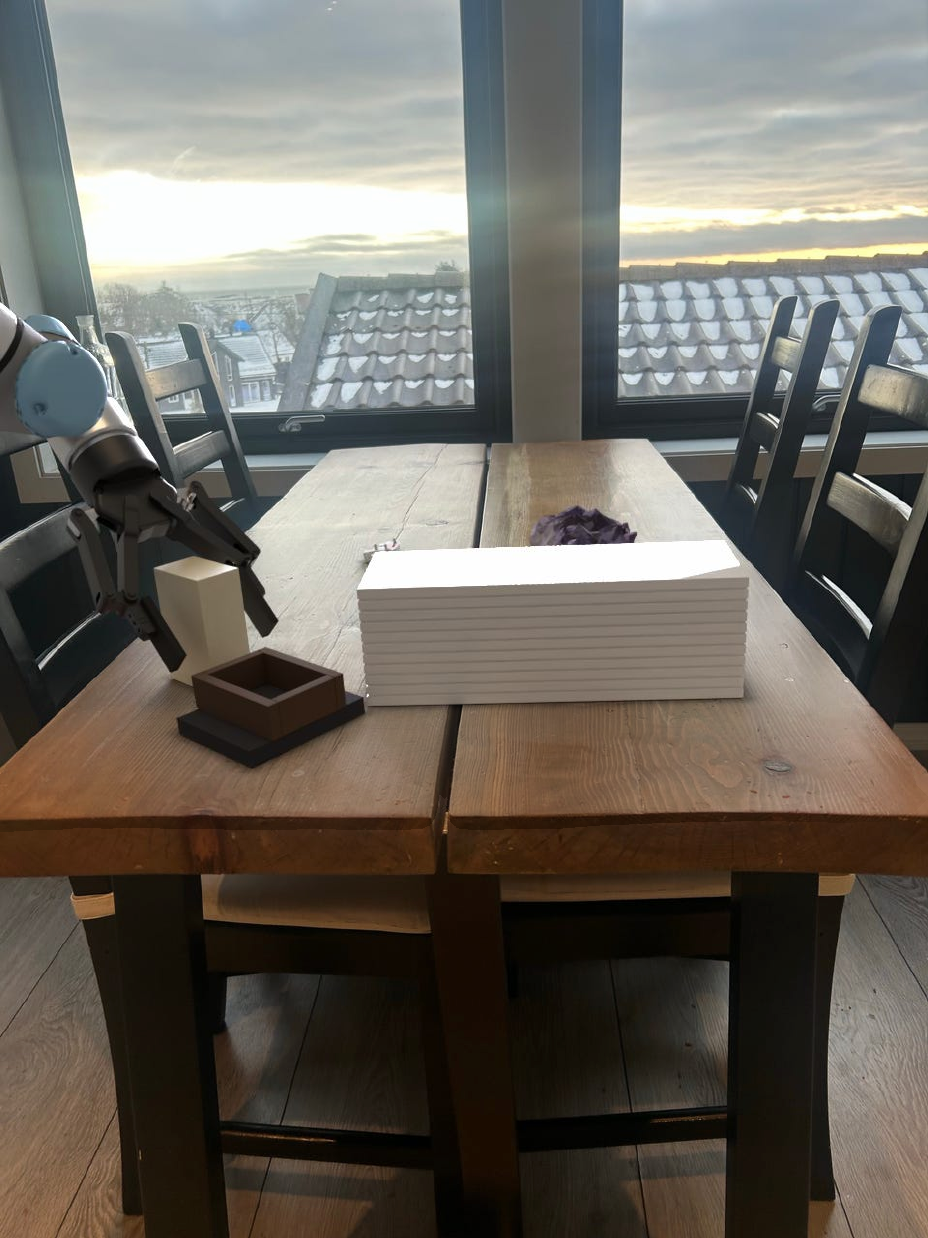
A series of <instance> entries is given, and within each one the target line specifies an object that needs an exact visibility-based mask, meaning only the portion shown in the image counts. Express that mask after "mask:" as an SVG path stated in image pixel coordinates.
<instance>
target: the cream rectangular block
mask: <svg viewBox="0 0 928 1238" xmlns="http://www.w3.org/2000/svg"><path fill="white" fill-rule="evenodd" d="M152 570H153V574H154V581H155V587H156V592H157V598H158V604H159V612H160V613H161V615H162V616H163V618H164V619H165V621H166V623H167V624H168V626H169V627H170V629H171V631H172V632H173V634H174V635H175V637H176V639H177V640H178V642H179V643H180V645H181V647H182V648H183V650H184V651H185V653H186V654H187V656H186V657H185V659H184V661H183V662H182V664H181V666H180V667H179V669H178V670H177V671H174V672H172V673H170V674H171V679H173V680H176V681H178V682H181V683H183V684H185V685H188V686H189V687H192V688H193V684H192V678H191V676H192V675H195V674H197V673H200V672H203V671H205V670H208V669H210V668H213V667H215V666H218V665H221V664H223V663H226V662H228V661H231V660H233V659H236V658H239V657H241V656H244V655H246V654H249V653H251V651H250V644H249V643H250V641H249V637H248V635H249V634H248V628H247V621H246V615H245V614H246V612H245V611H244V606H243V599H242V591H241V584H240V577H239V569H238V568H236V567H232V566H229V565H225V564H221V563H218V562H214V561H210V560H206V559H204V558H203V557H199V556H196V555H192V556H189V557H186V558H183V559H182V558H181V559H179V560H176V561H172V562H169V563H165V564H162V565H158V566H155V567H153V569H152Z"/></svg>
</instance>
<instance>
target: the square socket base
mask: <svg viewBox="0 0 928 1238" xmlns="http://www.w3.org/2000/svg"><path fill="white" fill-rule="evenodd" d="M191 678H192V684H193V687H192V690H193V696H194V702H195V707H196V709H194V710H192V711H189V712H187V713H184V714H182V715H180V716H177V717H176V724H177V730H178V734H179V735H180V736H184V737H185V738H188V739H190V740H192V741H194V742H196V743H197V744H200V745H202V746H204V747H206V748H209V749H210V750H212V751H215V752H216V753H219V754H221V755H223V756H225V757H227V758H229V759H232V760H234V761H236V762H238V763H240V764H242V765H243V766H246V767H248V768H250V769H253V768H255V767H257V766H259V765H262V764H264V763H265V762H267V761H269V760H271V759H274V758H276V757H278V756H279V755H282V754H284V753H286V752H288V751H290V750H292V749H294V748H296V747H298V746H300V745H302V744H304V743H306V742H308V741H310V740H312V739H314V738H316V737H319V736H321V735H323V734H326V733H327V732H329V731H331V730H333V729H335V728H338V727H339V726H341V725H343V724H345V723H348V722H349V721H352V720H353V719H355V718H358V717H359V716H361V715H363V714H365V713H366V707H365V698H364V696H361V695H358V694H356V693H353V692H350V691H347V690H346V688H345V687H346V686H345V676H344V673H342V672H340V671H337V670H333V669H331V668H327V667H324V666H323V665H319V664H315V663H313V662H310V661H308V660H306V659H302V658H298V657H296V656H293V655H290V654H287V653H285V652H281V651H278V650H275V649H272V648H270V647H266V646H264V647H262V648H259V649H256V650H254V651H250V653H249V654H246V655H244V656H241V657H239V658H236V659H233V660H231V661H228V662H226V663H223V664H221V665H218V666H215V667H213V668H210V669H208V670H205V671H203V672H200V673H197V674H195V675H192V676H191Z"/></svg>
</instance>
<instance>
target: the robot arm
mask: <svg viewBox="0 0 928 1238" xmlns="http://www.w3.org/2000/svg"><path fill="white" fill-rule="evenodd" d="M0 432H7V433H13V434H22V435H29V436H35V437H39V438H42V439H45V440H46V442H48V444H49V445H50V447H51V449H52V450H53V452H54V454H55V456H57V459H58V460H59V462H60V463H61V465H62V467H63V468H64V469H65V471H66V473H68V474H69V475H70V479H71V482H72V483H73V485H74V487H75V488H76V490H77V491H78V493H79V494H80V496H81V498H82V499H83V500H84V503H85V504H86V505H87V506H88V507H89V509H85V510H84V509H82V508H80V507H74V508H72V509H71V510H70V513H69V517H68V518H67V522H66V525H65V531H66V532H67V534H68V535H69V536H70V538H71V539H72V541H73V542H74V543H75V544H76V545H77V549H78V553H79V556H80V560H81V563H82V566H83V570H84V573H85V576H86V579H87V584H88V587H89V590H90V593H91V596H92V600H93V603H94V606H95V610H96V612H97V613H98V614H100V615H103V616H105V615H108V614H109V613H110V612H111V613H112V612H114V613H115V614H116V616H117V617H118V618H119V619H122V620H127V621H128V622H129V625H130V626H131V627H132V629H133V631H134V633H135V634H136V636H137V637H138V639H139V640H141V641H142V642H147V641H150V643H151V644H152V646H153V647H154V649H155V651H156V653H157V654H158V655H159V657H160V659H161V661H162V662H163V663H164V665H165V667H166V668H167V670H168V672H169V673H170V674H171V673H172V672H174V671H177V670H178V669H179V667H180V666H181V664H182V662H183V661H184V659H185V657H186V656H187V654H186V653H185V651H184V650H183V648H182V647H181V645H180V643H179V642H178V640H177V639H176V637H175V635H174V634H173V632H172V631H171V629H170V627H169V626H168V624H167V623H166V621H165V619H164V618H163V616H162V615H161V611H160V609H159V608H158V607H157V605H156V603H155V602H154V600H153V599H152V597H151V596H150V595H147V596H146V595H145V596H144V597H141V598H139V597H140V588H139V587H140V586H139V585H140V583H139V581H140V580H139V552H138V551H139V550H138V543H142V542H145V541H146V540H148V539H150V538H161V537H163V536H164V537H166V538H167V539H169V540H170V541H172V542H179V543H181V544H182V545H184V546H185V547H186V548H188V549H189V550H191V551H192V552H194V553H195V554H197V555H198V556H200V558H203V559H206V560H210V561H214V562H218V563H221V564H225V565H229V566H232V567H236V568H238V569H239V577H240V584H241V591H242V599H243V606H244V613H245V614H246V615H247V618H249V620H250V622H251V623H252V625H253V626H254V628H255V629H256V631H257V632H258V634H259V635H260V637H261V638H262V639H263V638H267V637H268V636H270V635H271V633H272V631H274V628H275V627H276V626H277V624H278V623H279V621H280V620H279V619H278V617H277V616H276V615H275V613H274V611H273V610H272V608H271V607H270V605H269V603H268V601H266V599H265V597H264V596H265V595H266V588H265V587H264V585H263V584H262V582H261V581H260V579H259V578H258V576H257V574H256V573H255V572H254V571H253V569H252V568H253V566H254V564H255V563H256V561H257V560H258V558H259V556H260V554H261V552H262V551H261V548H260V547H259V546H258V545H257V544H256V543H255V542H254V540H252V539H251V538H250V537H249V536H248V535H247V534H246V533H245V532H244V531H243V530H242V529H241V527H239V526H238V525H237V524H236V523H235V522H234V521H233V520H232V519H231V518H230V517H229V516H228V515H227V514H226V513H225V512H224V511H223V510H222V509H221V508H220V507H219V506H218V504H216V503H215V502H214V500H212V499H211V498H210V496H209V495H208V493H207V491H206V489H205V487H204V486H203V484H202V483H201V482H200V481H198V480H192V481H191V482H190V483H189V486H185V487H181V488H180V487H179V488H175V487H174V486H173V485H171V484H170V483H168V482H167V481H166V480H165V478H164V477H163V475H162V473H161V470H160V467H159V465H158V463H157V461H156V460H155V458H154V457H153V455H152V453H151V451H150V450H149V449H148V447H147V446H146V445H145V442H144V441H143V440H142V439H141V438H140V437H139V434H138V431H137V430H136V428H135V427H134V425H133V424H132V422H131V421H130V419H129V418H128V416H127V415H126V414H125V412H124V410H123V409H122V407H121V406H120V405H119V403H118V402H117V400H116V399H115V398H114V395H112V393H111V391H110V390H109V388H108V381H107V378H106V374H105V372H104V370H103V367H102V366H101V364H100V363H99V361H98V360H97V358H96V357H95V356H94V355H93V354H91V353H90V352H89V351H88V350H86V349H85V348H84V347H83V345H82V344H81V343H79V342H78V340H77V339H76V338H75V336H73V334H72V333H71V332H70V330H69V329H68V328H67V326H66V325H64V323H63V322H62V321H60V320H58V319H57V318H55V317H52V316H49V315H45V314H30V315H28V316H27V317H26V318H25V319H22V318H20V317H19V316H18V315H17V314H16V313H13V311H11V310H10V309H9V308H8V307H6V306H5V305H4V304H3V303H1V302H0ZM179 504H180V505H182V506H180V505H179ZM175 520H176V521H175ZM174 522H176V524H175V525H173V524H174ZM98 525H100V526H101V527H103V528H105V529H107V530H109V531H111V532H113V533H114V534H115V552H116V558H117V559H116V560H117V561H116V565H117V570H116V571H117V590H116V587H115V583H114V580H113V578H112V574H111V573H112V572H111V570H110V567H109V564H108V562H107V557H106V553H105V551H104V548H103V545H102V540H101V537H100V534H99V531H98Z"/></svg>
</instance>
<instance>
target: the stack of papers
mask: <svg viewBox="0 0 928 1238" xmlns="http://www.w3.org/2000/svg"><path fill="white" fill-rule="evenodd" d="M634 543H635V542H634ZM749 588H750V577H749V575H748V573H747V572H746V570H745V569H744V567H743V566H742V564H741V562H740V561H739V560H738V558H737V557H736V555H735V554H734V552H733V551H732V549H731V548H730V546H729V544H728V543H727V542H726V540H702V541H701V540H700V541H699V540H698V541H697V540H696V541H694V540H693V541H671V542H669V541H668V542H667V541H666V542H640V543H639V542H637V543H635V544H607V545H581V546H580V545H576V546H547V547H531V546H530V547H529V546H525V547H524V546H522V547H521V546H520V547H517V546H516V547H495V548H492V547H491V548H489V547H488V548H464V549H463V548H461V549H434V550H431V549H430V550H422V551H420V550H412V551H411V550H405V551H399V552H375V553H374V555H373V557H372V559H371V561H369V564H368V566H367V568H366V570H365V571H364V574H363V576H362V578H361V580H360V582H359V584H358V586H357V588H356V598H357V600H358V601H357V606H358V607H357V609H358V611H359V612H358V619H359V628H360V629H359V630H360V633H361V634H360V640H361V643H362V644H361V651H362V654H363V655H362V660H363V664H364V665H363V671H364V683H365V692H366V693H365V694H366V703H367V707H389V706H393V707H394V706H431V705H432V706H433V705H437V706H438V705H475V704H476V705H477V704H479V705H480V704H484V705H485V704H525V703H527V704H528V703H571V702H573V703H574V702H612V701H615V702H616V701H656V700H659V701H660V700H697V699H698V700H701V699H702V700H703V699H705V700H707V699H743V698H744V689H745V688H744V687H745V670H746V667H745V664H746V652H747V651H746V649H747V645H746V643H747V634H746V633H747V629H748V623H747V621H748V609H749V601H748V600H749V593H750V591H749ZM743 686H744V687H743Z"/></svg>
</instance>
